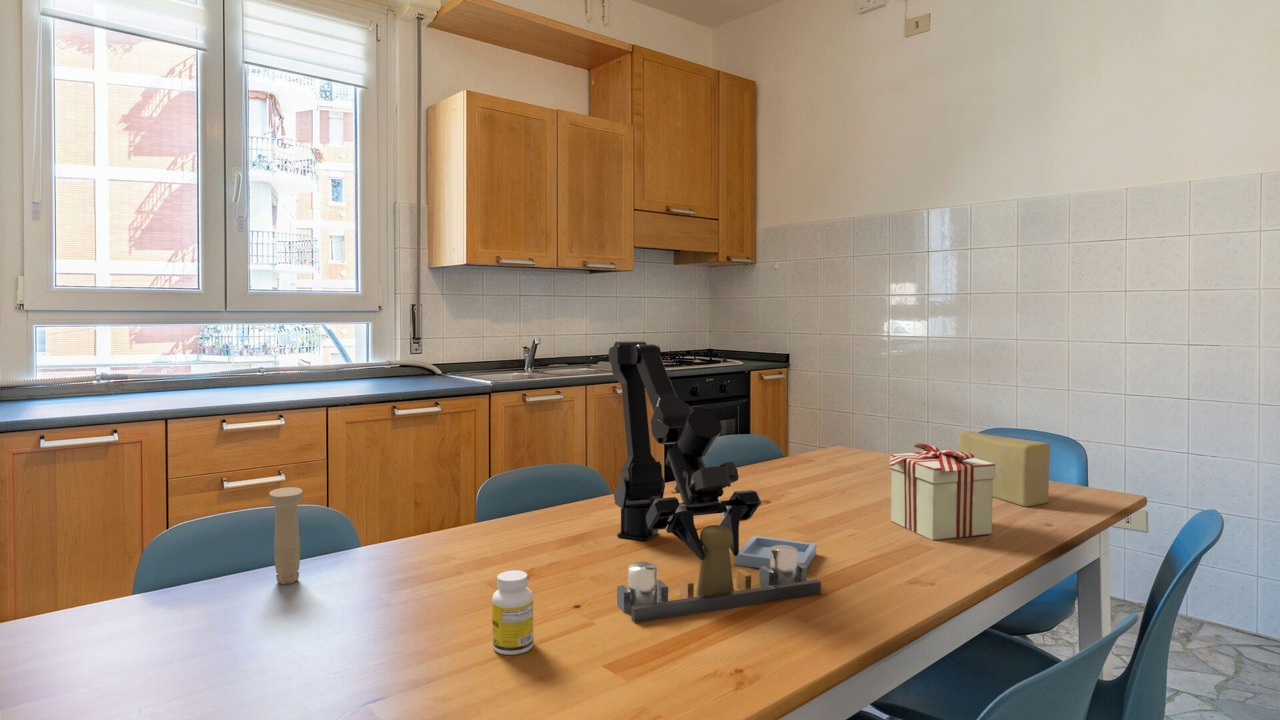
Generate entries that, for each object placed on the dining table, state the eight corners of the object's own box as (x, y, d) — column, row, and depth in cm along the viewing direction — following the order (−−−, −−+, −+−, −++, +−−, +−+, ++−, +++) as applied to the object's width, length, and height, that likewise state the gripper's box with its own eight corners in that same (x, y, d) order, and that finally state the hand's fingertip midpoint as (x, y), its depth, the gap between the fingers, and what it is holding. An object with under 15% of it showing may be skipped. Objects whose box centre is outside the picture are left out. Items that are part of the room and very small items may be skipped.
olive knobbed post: (733, 603, 115) (734, 533, 114) (694, 600, 116) (695, 530, 115) (735, 589, 121) (737, 522, 120) (698, 586, 122) (699, 520, 121)
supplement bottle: (494, 638, 102) (494, 568, 101) (534, 637, 102) (534, 567, 101) (490, 657, 96) (489, 583, 96) (532, 655, 97) (532, 582, 96)
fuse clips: (615, 603, 114) (615, 565, 114) (794, 577, 126) (794, 542, 126) (633, 623, 107) (634, 582, 107) (821, 593, 119) (822, 557, 119)
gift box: (873, 523, 160) (875, 443, 159) (941, 515, 167) (943, 439, 165) (930, 546, 144) (932, 458, 143) (1002, 537, 151) (1005, 453, 150)
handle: (271, 590, 118) (269, 497, 118) (271, 577, 124) (269, 489, 123) (305, 585, 121) (303, 494, 120) (302, 573, 126) (301, 486, 125)
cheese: (944, 488, 193) (946, 431, 192) (968, 484, 197) (970, 428, 196) (1025, 508, 173) (1027, 444, 172) (1049, 503, 178) (1052, 441, 177)
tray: (735, 564, 132) (735, 553, 132) (753, 545, 143) (753, 535, 143) (803, 574, 128) (803, 563, 127) (816, 554, 139) (816, 543, 138)
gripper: (653, 448, 117) (681, 537, 107) (756, 442, 124) (792, 525, 114) (634, 487, 125) (659, 573, 115) (733, 479, 132) (764, 559, 122)
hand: (720, 556), depth 116 cm, fingers open, 6 cm apart
